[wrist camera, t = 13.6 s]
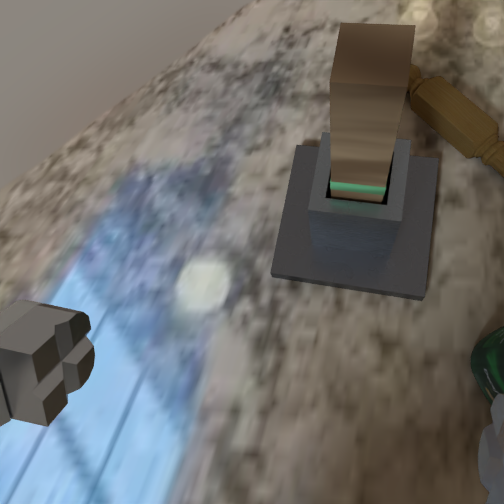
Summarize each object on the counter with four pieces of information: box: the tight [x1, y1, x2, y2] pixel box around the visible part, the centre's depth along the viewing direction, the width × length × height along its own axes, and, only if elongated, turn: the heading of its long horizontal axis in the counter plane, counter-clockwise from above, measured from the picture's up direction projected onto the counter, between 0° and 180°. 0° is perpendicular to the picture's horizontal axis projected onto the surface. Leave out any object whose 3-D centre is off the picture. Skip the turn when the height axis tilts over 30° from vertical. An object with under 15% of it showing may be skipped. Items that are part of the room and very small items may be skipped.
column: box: [330, 23, 416, 205], centre depth 32 cm, size 4×4×15 cm
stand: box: [271, 132, 439, 301], centre depth 42 cm, size 14×14×10 cm
